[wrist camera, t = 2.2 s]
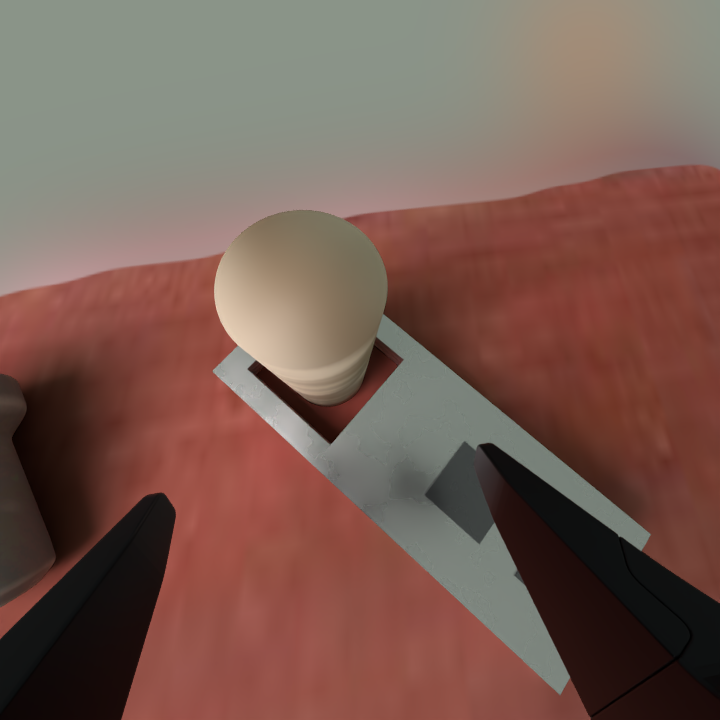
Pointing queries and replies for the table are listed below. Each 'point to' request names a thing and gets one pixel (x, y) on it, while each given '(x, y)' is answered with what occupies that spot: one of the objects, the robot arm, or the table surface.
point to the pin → (304, 301)
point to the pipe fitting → (18, 507)
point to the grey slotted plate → (436, 482)
